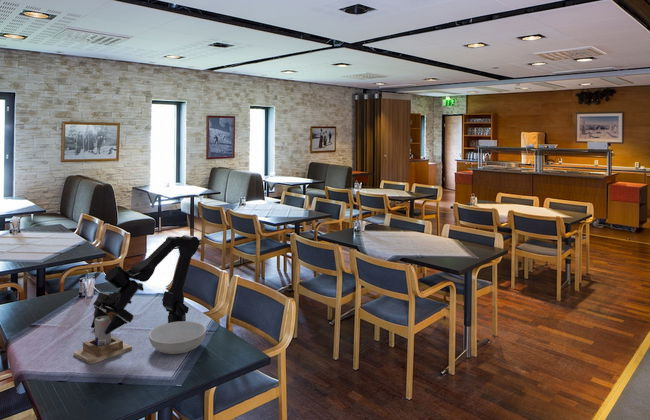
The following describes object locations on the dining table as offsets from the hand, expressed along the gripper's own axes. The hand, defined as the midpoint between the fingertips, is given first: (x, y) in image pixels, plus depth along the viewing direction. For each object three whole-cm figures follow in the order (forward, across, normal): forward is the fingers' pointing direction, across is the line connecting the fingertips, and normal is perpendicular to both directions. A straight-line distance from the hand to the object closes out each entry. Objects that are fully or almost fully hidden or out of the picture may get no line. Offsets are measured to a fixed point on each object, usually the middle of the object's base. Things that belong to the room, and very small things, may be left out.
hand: (98, 330), depth 179 cm
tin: (-7, -28, +20) cm, 35 cm away
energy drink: (+4, 0, +7) cm, 8 cm away
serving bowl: (-8, +18, +21) cm, 29 cm away
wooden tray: (+5, 0, +7) cm, 9 cm away
